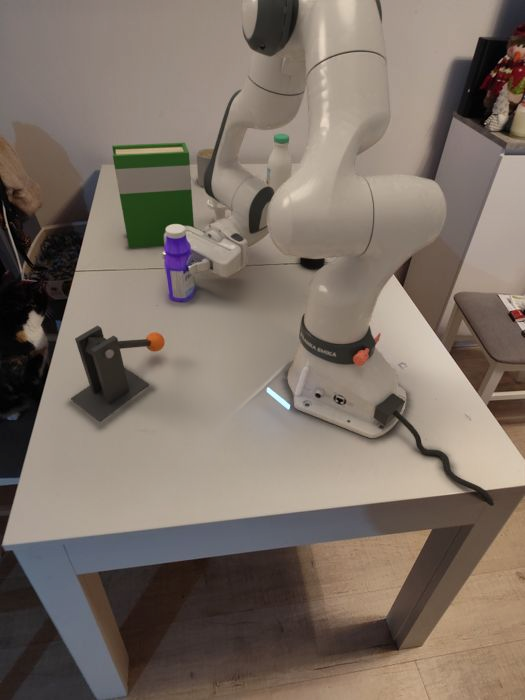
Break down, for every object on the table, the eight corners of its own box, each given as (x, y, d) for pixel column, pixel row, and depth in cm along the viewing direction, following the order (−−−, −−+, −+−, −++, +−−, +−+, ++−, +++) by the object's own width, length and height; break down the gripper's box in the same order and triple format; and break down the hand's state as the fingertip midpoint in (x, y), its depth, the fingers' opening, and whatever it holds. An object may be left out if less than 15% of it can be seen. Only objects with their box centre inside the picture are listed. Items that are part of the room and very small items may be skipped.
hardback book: (129, 248, 119) (112, 156, 103) (127, 235, 124) (112, 145, 108) (194, 242, 123) (189, 152, 107) (191, 230, 128) (184, 142, 112)
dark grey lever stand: (121, 369, 85) (107, 312, 76) (150, 388, 82) (139, 331, 73) (72, 403, 79) (50, 345, 69) (101, 425, 75) (82, 367, 66)
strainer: (226, 230, 129) (226, 179, 119) (204, 226, 130) (201, 174, 120) (235, 220, 134) (235, 170, 124) (213, 216, 135) (212, 166, 125)
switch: (152, 346, 86) (157, 329, 85) (165, 354, 85) (170, 336, 84) (81, 352, 72) (86, 332, 71) (95, 362, 71) (101, 341, 70)
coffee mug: (199, 176, 158) (197, 147, 151) (227, 177, 158) (226, 148, 152) (196, 192, 148) (194, 161, 141) (226, 193, 148) (226, 162, 142)
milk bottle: (293, 199, 147) (299, 135, 134) (281, 207, 142) (286, 141, 129) (273, 193, 150) (277, 129, 136) (261, 201, 145) (263, 135, 131)
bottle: (189, 307, 101) (183, 237, 89) (165, 304, 101) (156, 234, 90) (198, 290, 106) (194, 221, 94) (176, 286, 107) (168, 218, 95)
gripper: (189, 214, 107) (143, 234, 99) (252, 243, 98) (208, 267, 90) (190, 238, 112) (147, 258, 104) (252, 268, 102) (209, 293, 94)
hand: (176, 263), depth 97 cm, fingers closed on bottle, 6 cm apart
